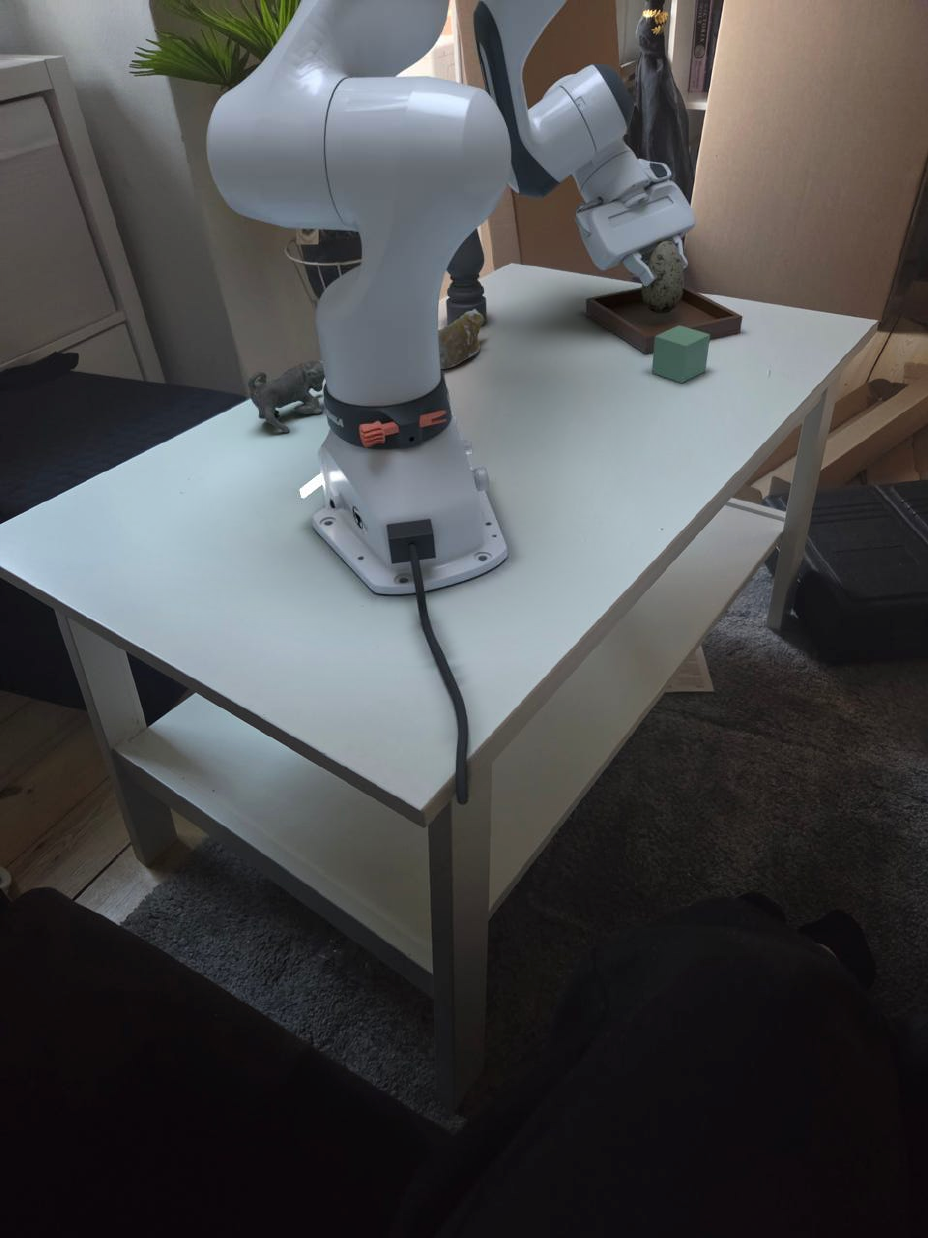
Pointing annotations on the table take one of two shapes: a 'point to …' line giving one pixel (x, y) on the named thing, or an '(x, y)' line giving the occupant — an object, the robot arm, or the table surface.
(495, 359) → the table surface
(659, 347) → the green block
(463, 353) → the stone
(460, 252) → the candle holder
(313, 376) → the dog figurine
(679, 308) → the tray
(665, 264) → the decorative egg
